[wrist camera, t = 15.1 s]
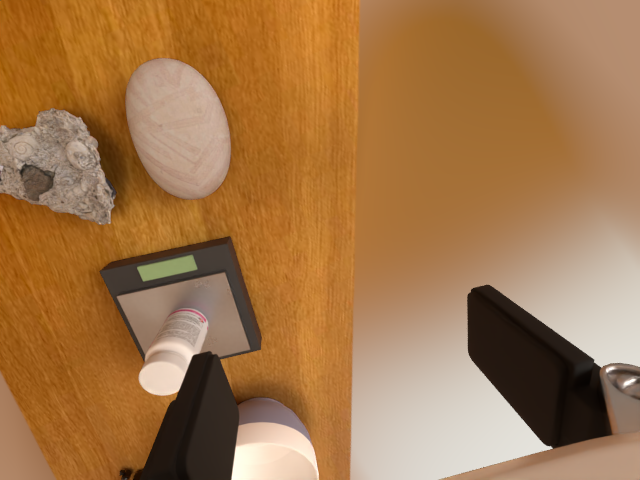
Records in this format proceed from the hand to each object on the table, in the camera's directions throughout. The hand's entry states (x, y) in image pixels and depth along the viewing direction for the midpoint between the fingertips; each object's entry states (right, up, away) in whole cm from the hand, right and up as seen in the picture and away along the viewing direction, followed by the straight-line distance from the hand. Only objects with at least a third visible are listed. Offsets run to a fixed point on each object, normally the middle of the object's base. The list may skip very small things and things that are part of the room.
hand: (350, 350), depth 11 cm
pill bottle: (-17, -6, +25) cm, 30 cm away
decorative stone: (-15, +15, +21) cm, 30 cm away
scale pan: (-17, -6, +25) cm, 31 cm away
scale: (-17, -4, +27) cm, 32 cm away
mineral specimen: (-27, +12, +20) cm, 36 cm away
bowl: (-10, -23, +35) cm, 44 cm away
